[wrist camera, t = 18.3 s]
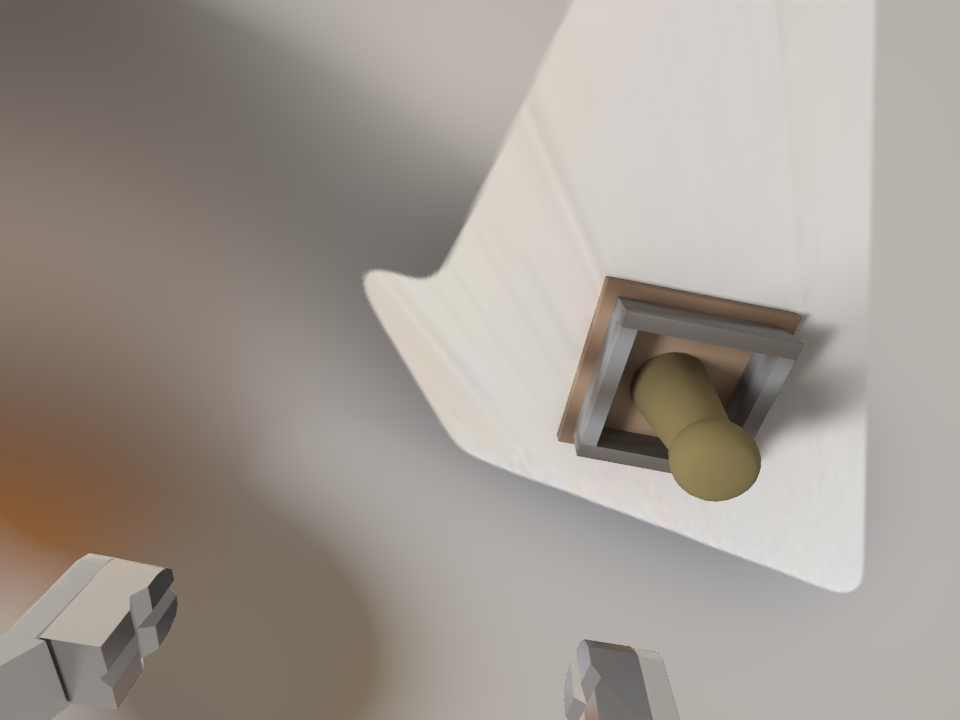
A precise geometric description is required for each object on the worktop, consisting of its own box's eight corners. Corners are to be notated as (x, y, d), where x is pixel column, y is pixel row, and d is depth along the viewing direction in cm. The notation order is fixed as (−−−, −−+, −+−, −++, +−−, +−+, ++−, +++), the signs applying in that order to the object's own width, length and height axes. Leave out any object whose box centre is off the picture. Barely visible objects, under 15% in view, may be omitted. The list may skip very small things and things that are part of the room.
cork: (665, 337, 37) (722, 418, 27) (725, 376, 38) (801, 467, 28) (614, 395, 39) (649, 488, 29) (672, 430, 40) (725, 531, 30)
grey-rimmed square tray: (605, 276, 36) (616, 293, 32) (794, 312, 36) (825, 334, 33) (557, 434, 42) (561, 463, 39) (717, 463, 43) (736, 495, 39)
